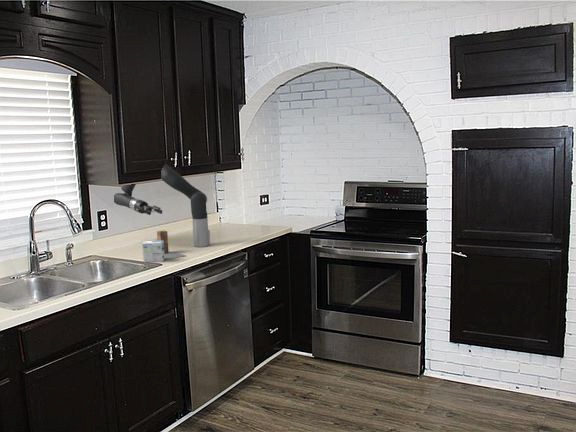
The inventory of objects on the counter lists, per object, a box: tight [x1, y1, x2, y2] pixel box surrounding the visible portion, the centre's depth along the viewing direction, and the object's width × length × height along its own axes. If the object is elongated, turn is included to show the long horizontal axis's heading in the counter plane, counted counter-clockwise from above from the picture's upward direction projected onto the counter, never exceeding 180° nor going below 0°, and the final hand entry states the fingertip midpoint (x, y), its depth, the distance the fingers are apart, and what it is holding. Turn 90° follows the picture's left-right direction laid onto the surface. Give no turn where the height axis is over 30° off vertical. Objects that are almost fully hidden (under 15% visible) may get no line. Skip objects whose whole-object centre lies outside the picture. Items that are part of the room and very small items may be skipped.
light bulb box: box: [142, 240, 166, 263], centre depth 312 cm, size 11×7×11 cm, turn 92°
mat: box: [164, 251, 187, 261], centre depth 323 cm, size 12×14×1 cm
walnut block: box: [156, 229, 170, 254], centre depth 330 cm, size 4×4×13 cm
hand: (156, 212), depth 332 cm, fingers open, 8 cm apart
